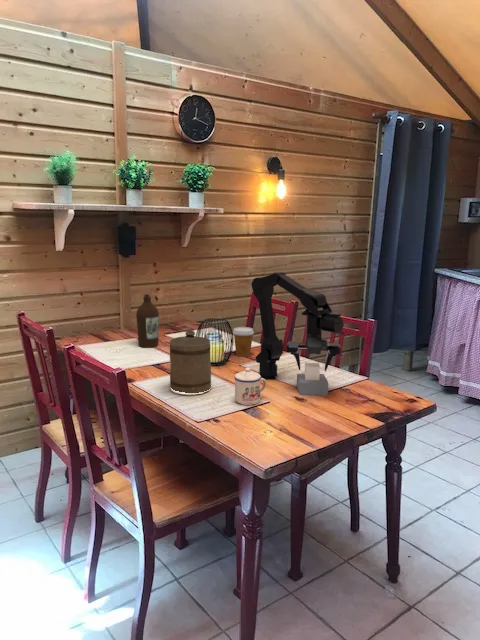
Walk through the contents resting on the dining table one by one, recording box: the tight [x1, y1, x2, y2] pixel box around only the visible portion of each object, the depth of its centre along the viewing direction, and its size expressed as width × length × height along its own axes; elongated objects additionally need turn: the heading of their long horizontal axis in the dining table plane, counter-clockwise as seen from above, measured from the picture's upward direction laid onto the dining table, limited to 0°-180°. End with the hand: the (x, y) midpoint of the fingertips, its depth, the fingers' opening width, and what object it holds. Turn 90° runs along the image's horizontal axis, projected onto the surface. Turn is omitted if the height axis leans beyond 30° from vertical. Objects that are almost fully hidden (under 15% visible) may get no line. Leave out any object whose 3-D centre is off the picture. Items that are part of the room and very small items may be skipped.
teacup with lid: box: [234, 367, 267, 406], centre depth 170 cm, size 12×9×12 cm
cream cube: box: [304, 362, 321, 380], centre depth 180 cm, size 5×5×5 cm
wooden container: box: [169, 329, 212, 393], centre depth 180 cm, size 15×15×22 cm
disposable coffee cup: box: [232, 326, 255, 358], centre depth 225 cm, size 10×10×12 cm
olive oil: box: [135, 293, 160, 349], centre depth 237 cm, size 11×11×25 cm
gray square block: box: [296, 373, 329, 396], centre depth 181 cm, size 10×10×5 cm
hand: (312, 370), depth 180 cm, fingers open, 9 cm apart
